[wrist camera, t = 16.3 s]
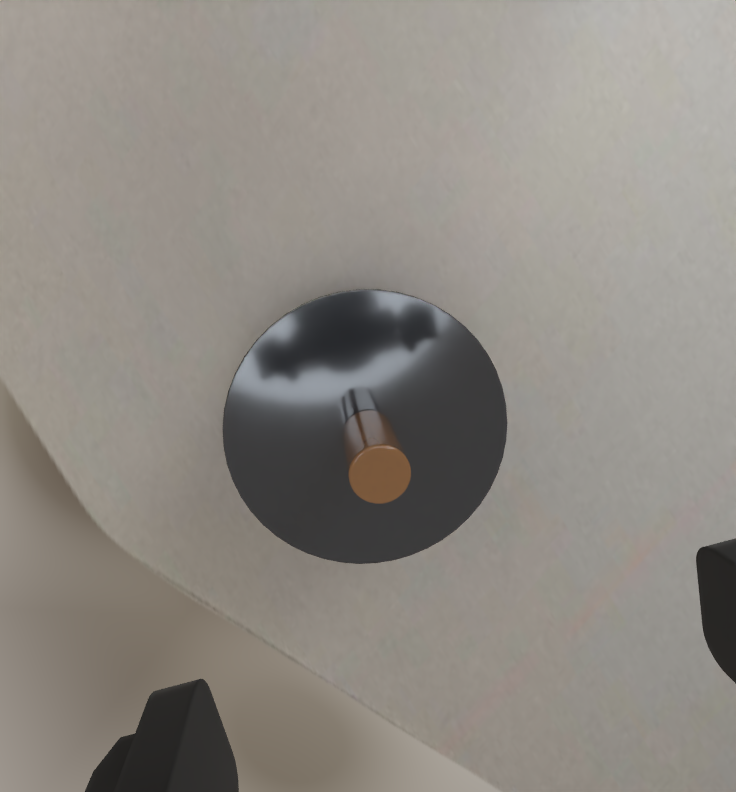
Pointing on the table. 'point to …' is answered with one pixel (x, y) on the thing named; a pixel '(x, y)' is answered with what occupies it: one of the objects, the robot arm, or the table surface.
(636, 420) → the table surface
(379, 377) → the lid
